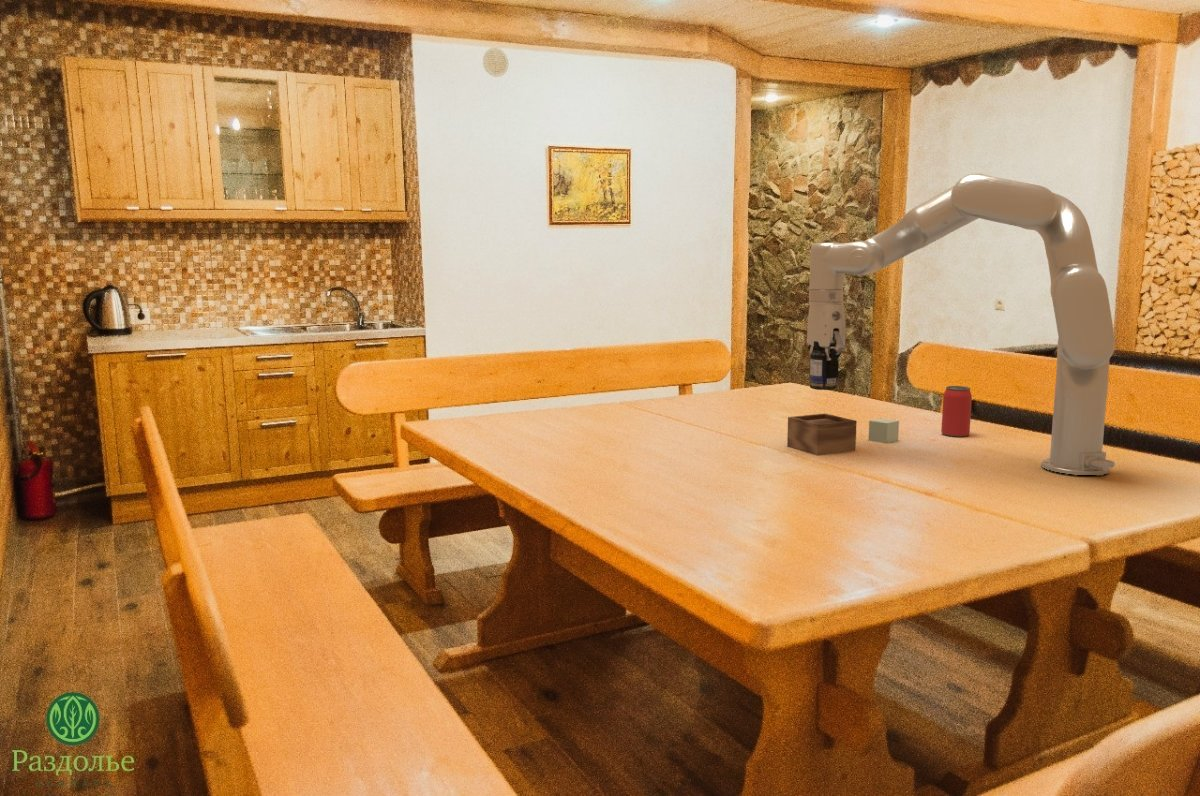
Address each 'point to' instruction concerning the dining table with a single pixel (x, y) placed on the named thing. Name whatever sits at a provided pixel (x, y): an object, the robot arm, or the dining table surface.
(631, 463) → the dining table surface
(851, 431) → the walnut open box
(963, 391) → the beer can
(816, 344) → the pill bottle
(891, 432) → the sage cube
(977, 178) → the robot arm
